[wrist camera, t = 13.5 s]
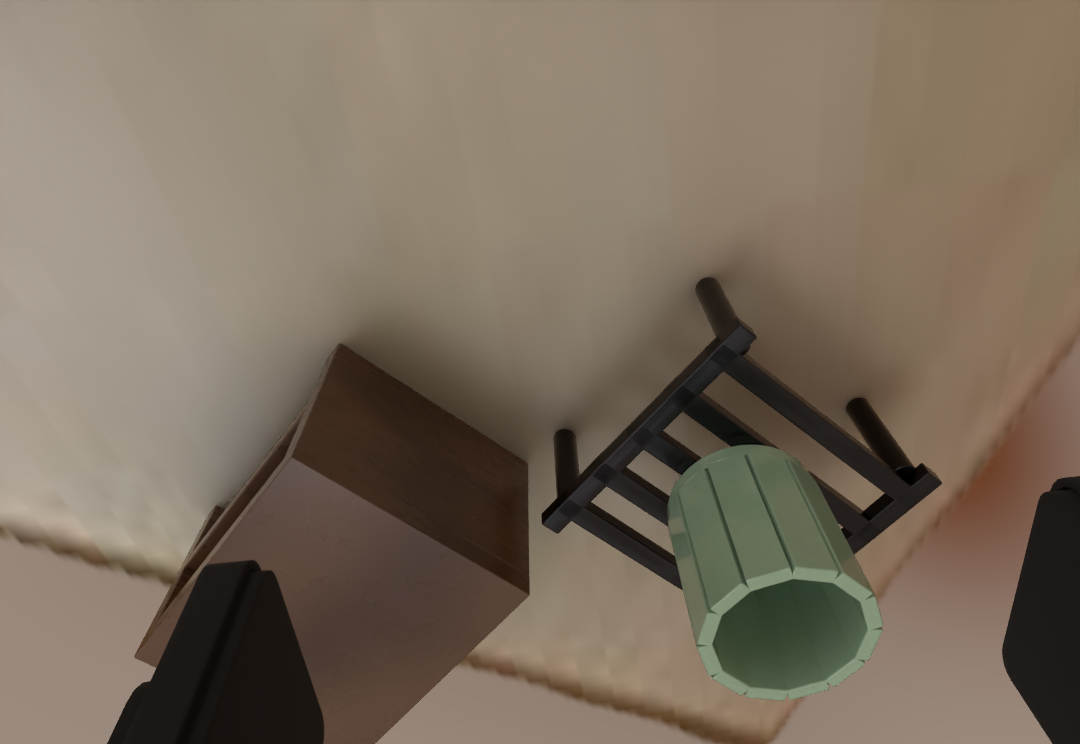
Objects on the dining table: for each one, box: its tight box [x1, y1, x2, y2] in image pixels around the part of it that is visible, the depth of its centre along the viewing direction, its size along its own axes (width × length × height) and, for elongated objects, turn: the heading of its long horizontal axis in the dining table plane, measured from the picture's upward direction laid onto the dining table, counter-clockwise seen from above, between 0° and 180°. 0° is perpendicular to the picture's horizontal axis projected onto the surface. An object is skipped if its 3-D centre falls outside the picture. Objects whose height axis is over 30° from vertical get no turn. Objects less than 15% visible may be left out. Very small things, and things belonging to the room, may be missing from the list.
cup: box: [667, 444, 883, 701], centre depth 35 cm, size 7×7×8 cm
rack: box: [542, 278, 942, 590], centre depth 41 cm, size 13×13×7 cm
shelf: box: [135, 344, 530, 744], centre depth 42 cm, size 12×14×10 cm
